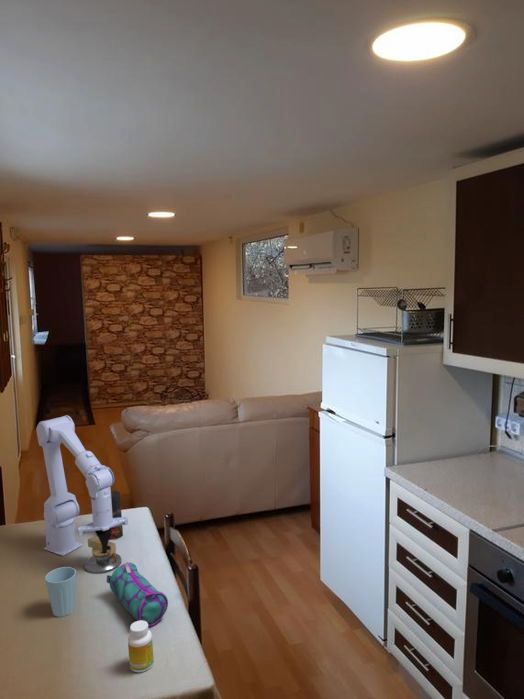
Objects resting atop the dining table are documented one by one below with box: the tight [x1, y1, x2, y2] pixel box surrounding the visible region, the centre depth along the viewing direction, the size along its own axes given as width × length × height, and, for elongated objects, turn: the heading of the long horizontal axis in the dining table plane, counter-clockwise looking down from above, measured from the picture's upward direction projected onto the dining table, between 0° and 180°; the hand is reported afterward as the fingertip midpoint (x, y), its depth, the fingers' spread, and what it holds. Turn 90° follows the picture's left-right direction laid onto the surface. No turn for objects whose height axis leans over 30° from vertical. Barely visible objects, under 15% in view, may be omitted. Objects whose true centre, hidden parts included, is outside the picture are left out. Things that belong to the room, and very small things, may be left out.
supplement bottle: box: [127, 620, 154, 673], centre depth 125 cm, size 5×5×10 cm
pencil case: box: [106, 562, 169, 628], centre depth 146 cm, size 21×9×10 cm, turn 37°
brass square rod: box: [87, 536, 117, 557], centre depth 169 cm, size 6×10×4 cm, turn 59°
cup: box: [44, 566, 77, 618], centre depth 146 cm, size 8×8×10 cm
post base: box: [83, 551, 122, 575], centre depth 170 cm, size 11×11×5 cm
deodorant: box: [109, 490, 124, 541], centre depth 187 cm, size 6×6×15 cm
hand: (104, 552), depth 166 cm, fingers closed, pressing on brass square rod
